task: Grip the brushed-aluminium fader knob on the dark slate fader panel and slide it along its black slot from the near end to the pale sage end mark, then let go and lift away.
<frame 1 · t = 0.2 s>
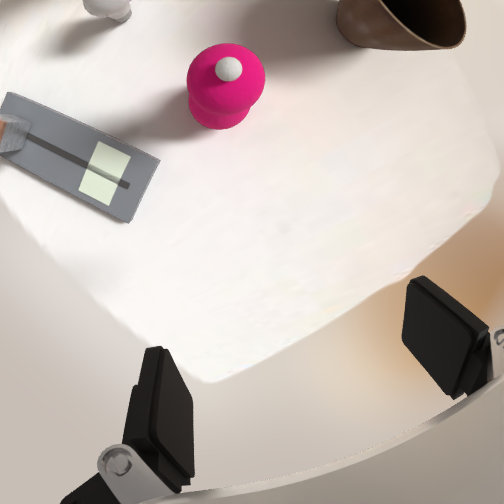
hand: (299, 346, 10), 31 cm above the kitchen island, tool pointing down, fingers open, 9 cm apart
pepper mill: (218, 104, 34), on the kitchen island
fader knob: (4, 132, 25), point 6 cm above the kitchen island, slide at -8.0 cm
fader panel: (63, 149, 33), on the kitchen island
plant pot: (357, 26, 32), on the kitchen island
lightbulb: (124, 17, 27), on the kitchen island
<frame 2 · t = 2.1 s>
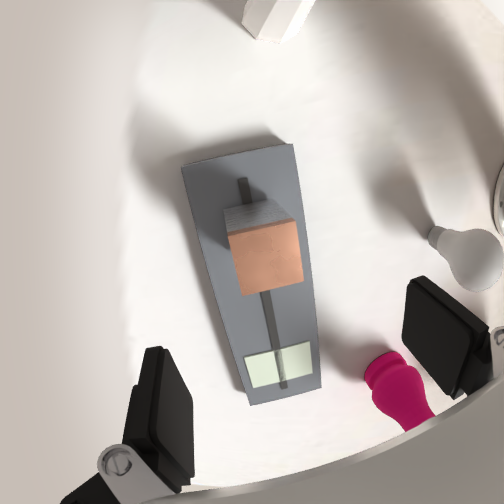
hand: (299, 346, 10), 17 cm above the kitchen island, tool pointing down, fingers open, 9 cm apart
pepper shaker: (270, 20, 20), on the kitchen island
pepper mill: (382, 367, 37), on the kitchen island
fader knob: (259, 241, 21), point 6 cm above the kitchen island, slide at -8.0 cm
fader panel: (264, 295, 29), on the kitchen island
lightbulb: (430, 233, 30), on the kitchen island
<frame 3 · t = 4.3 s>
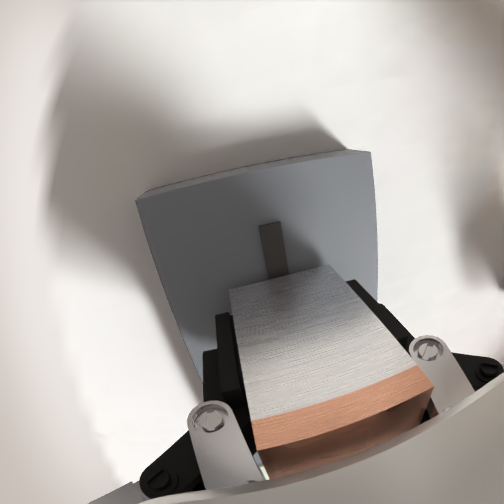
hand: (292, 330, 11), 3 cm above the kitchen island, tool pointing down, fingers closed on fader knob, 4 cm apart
fader knob: (312, 375, 9), point 6 cm above the kitchen island, slide at -8.0 cm, touching gripper
fader panel: (292, 393, 17), on the kitchen island
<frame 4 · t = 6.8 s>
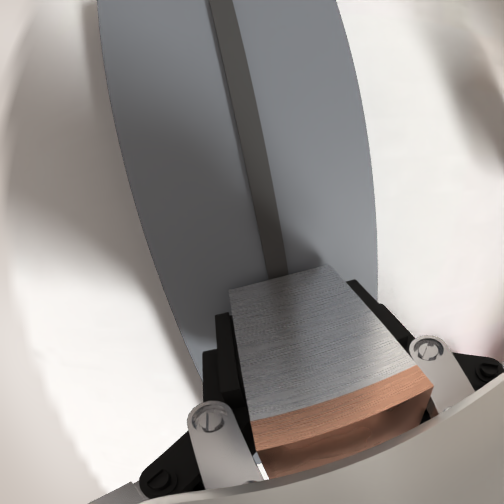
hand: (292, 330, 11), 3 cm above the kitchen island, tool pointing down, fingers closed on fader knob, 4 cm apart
fader knob: (312, 375, 9), point 6 cm above the kitchen island, slide at 0.8 cm, touching gripper
fader panel: (272, 276, 14), on the kitchen island
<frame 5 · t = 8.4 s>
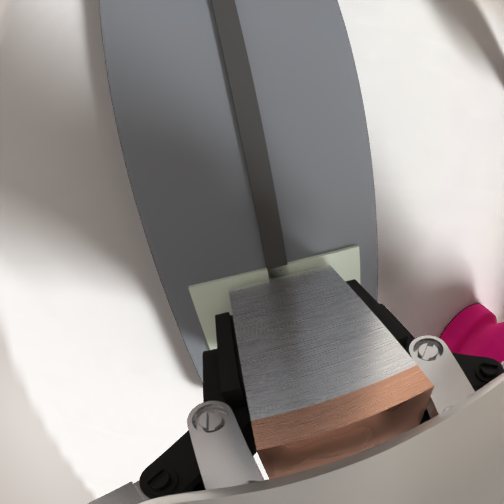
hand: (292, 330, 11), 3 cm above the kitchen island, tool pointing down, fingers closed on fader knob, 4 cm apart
pepper mill: (459, 335, 19), on the kitchen island
fader knob: (312, 375, 9), point 6 cm above the kitchen island, slide at 7.8 cm, touching gripper
fader panel: (242, 124, 11), on the kitchen island
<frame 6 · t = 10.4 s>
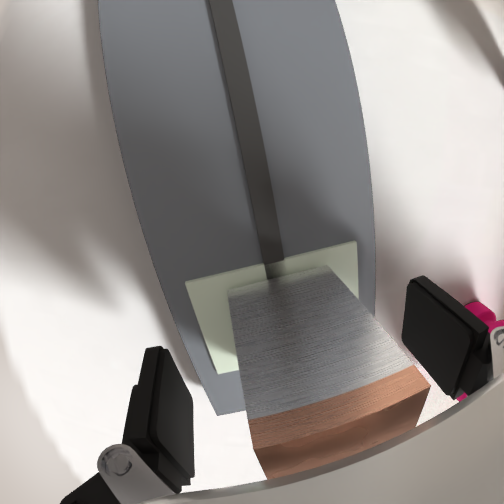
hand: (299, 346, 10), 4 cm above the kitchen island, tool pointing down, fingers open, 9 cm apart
pepper mill: (458, 333, 19), on the kitchen island
fader knob: (309, 375, 9), point 6 cm above the kitchen island, slide at 8.0 cm
fader panel: (239, 120, 11), on the kitchen island
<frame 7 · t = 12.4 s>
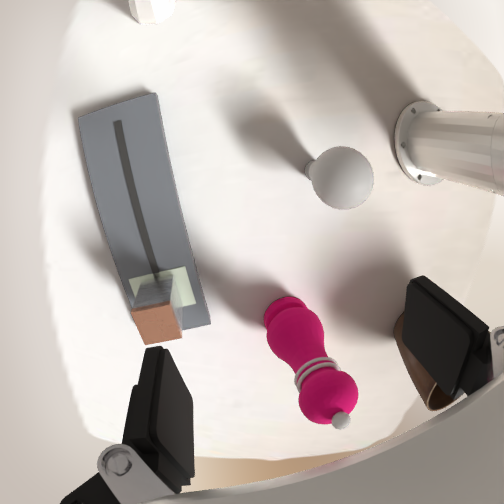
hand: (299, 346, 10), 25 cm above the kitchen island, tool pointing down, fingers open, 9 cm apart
pepper shaker: (153, 8, 24), on the kitchen island
pepper mill: (284, 315, 41), on the kitchen island
fader knob: (159, 308, 30), point 6 cm above the kitchen island, slide at 8.0 cm
fader panel: (145, 223, 32), on the kitchen island
plant pot: (409, 322, 47), on the kitchen island
lightbulb: (311, 169, 34), on the kitchen island
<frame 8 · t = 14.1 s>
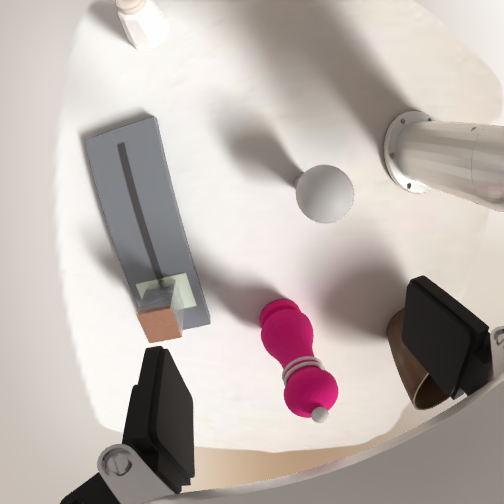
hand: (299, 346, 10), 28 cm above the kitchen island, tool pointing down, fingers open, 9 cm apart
pepper shaker: (149, 33, 27), on the kitchen island
pepper mill: (279, 315, 44), on the kitchen island
fader knob: (162, 310, 34), point 6 cm above the kitchen island, slide at 8.0 cm
fader panel: (149, 233, 36), on the kitchen island
plant pot: (402, 323, 49), on the kitchen island
lightbulb: (301, 182, 37), on the kitchen island
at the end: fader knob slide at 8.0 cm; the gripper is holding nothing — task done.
